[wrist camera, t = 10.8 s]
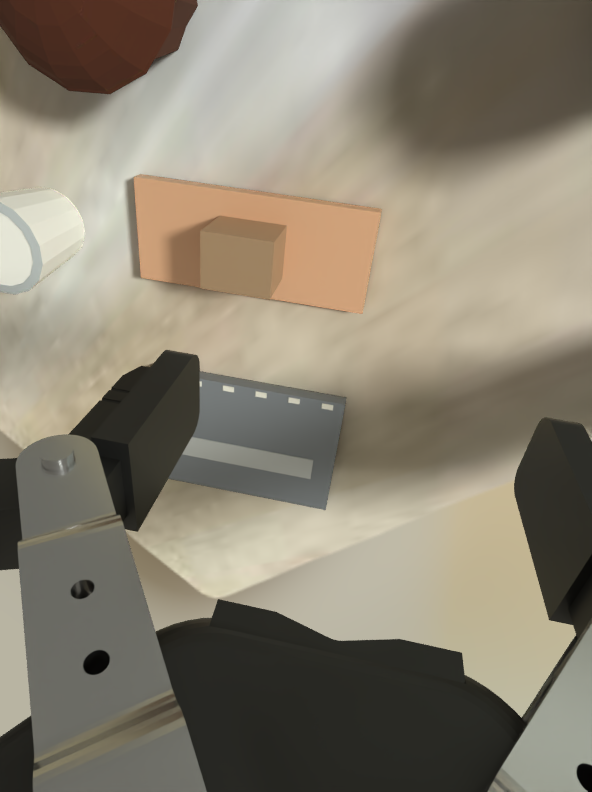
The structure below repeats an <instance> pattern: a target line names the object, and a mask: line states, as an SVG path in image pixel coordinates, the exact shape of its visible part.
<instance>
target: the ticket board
mask: <svg viewBox="0 0 592 792" xmlns="http://www.w3.org/2000/svg"><path fill="white" fill-rule="evenodd" d="M345 403H346V397H340V396H335V395H329V394H323V393H318V392H312V391H307V390H301V389H295V388H290V387H284V386H279V385H273V384H267V383H262V382H256V381H251V380H245V379H239V378H234V377H228V376H223V375H217V374H212V373H206V372H200V413H199V419H198V424H197V427H196V430H195V432H194V434H193V436H192V438H191V440H190V441H189V443H188V445H187V446H186V448H185V450H184V452H183V453H182V455H181V457H180V459H179V460H178V462H177V464H176V466H175V467H174V469H173V471H172V473H171V474H170V476H169V478H168V479H173V480H178V481H183V482H188V483H193V484H198V485H203V486H208V487H213V488H218V489H223V490H228V491H233V492H238V493H243V494H248V495H253V496H258V497H263V498H268V499H273V500H278V501H283V502H288V503H293V504H298V505H303V506H308V507H313V508H318V509H323V510H326V505H327V500H328V494H329V489H330V484H331V478H332V473H333V468H334V462H335V457H336V452H337V446H338V441H339V436H340V430H341V425H342V420H343V414H344V409H345Z"/></svg>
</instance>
